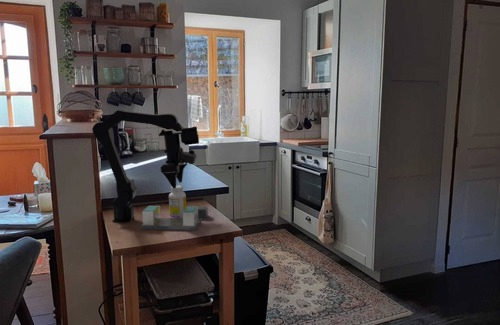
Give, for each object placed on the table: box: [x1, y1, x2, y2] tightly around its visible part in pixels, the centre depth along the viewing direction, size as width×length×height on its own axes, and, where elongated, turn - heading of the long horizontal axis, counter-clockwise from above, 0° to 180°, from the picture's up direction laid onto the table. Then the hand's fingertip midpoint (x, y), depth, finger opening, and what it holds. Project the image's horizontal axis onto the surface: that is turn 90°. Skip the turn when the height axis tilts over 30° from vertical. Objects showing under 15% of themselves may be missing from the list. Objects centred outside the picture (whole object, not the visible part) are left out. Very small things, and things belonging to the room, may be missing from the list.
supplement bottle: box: [168, 184, 187, 218], centre depth 153 cm, size 7×7×13 cm
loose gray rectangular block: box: [194, 206, 209, 220], centre depth 154 cm, size 5×4×4 cm
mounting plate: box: [140, 205, 201, 232], centre depth 144 cm, size 20×9×7 cm, turn 86°
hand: (177, 185), depth 151 cm, fingers open, 9 cm apart
